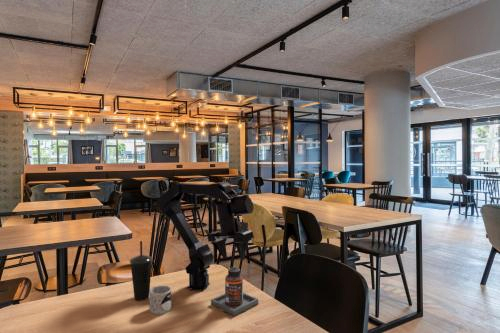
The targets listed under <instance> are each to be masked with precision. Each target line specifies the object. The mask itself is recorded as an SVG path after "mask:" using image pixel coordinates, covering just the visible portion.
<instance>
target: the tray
mask: <svg viewBox="0 0 500 333" xmlns="http://www.w3.org/2000/svg"><path fill="white" fill-rule="evenodd" d="M210 305H211V306H212V307H214V308H217V309H218V310H220V311H222V312H224V313H226V314H227V315H230V316H232V317H233V318H234V317H237V316H238V315H241V314H243V313H244V312H246V311H249V310H250V309H252V308H254V307H256V306H258V305H259V298H257V297H255V296H252V295H250V294H248V293H245V292H243V302H242V304H240V305H238V306H230V305H228V304H226V302H225V293H224V294H221V295H219V296H216V297H214V298H211V299H210Z"/></svg>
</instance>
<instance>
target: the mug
mask: <svg viewBox="0 0 500 333" xmlns="http://www.w3.org/2000/svg"><path fill="white" fill-rule="evenodd" d="M171 310H172V287H171V285H157V286H154V287H151V288H150V291H149V312H150V314H151V315H153V316H162V315H165V314H168V313H169V312H170V311H171Z"/></svg>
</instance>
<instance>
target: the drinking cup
mask: <svg viewBox="0 0 500 333" xmlns="http://www.w3.org/2000/svg"><path fill="white" fill-rule="evenodd" d="M139 253H140V254H139V255H137V256H134V257H132V258H130V259H129V263H130V270H131V278H132V287H133V298H134V300H135V301H138V302H141V301H142V302H143V301H145V300H148V299H150V292H149V291H150V289H151V288H150V287H151V276H152V266H153V265H152V263H153V260H154V259H153V257H152V256H149V255H145V254H143V241H142V240H140V241H139Z"/></svg>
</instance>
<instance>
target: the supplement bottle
mask: <svg viewBox="0 0 500 333" xmlns="http://www.w3.org/2000/svg"><path fill="white" fill-rule="evenodd" d="M224 281H225V283H224V284H225V285H224V286H225V288H224V291H225V292H224V294H225V302H226V304H228V305H230V306H238V305H240V304H242V302H243V293H244V277H243V275H242V274H241V268H239V267H229V268H228V270H227V274H226V275H225V280H224Z"/></svg>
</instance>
